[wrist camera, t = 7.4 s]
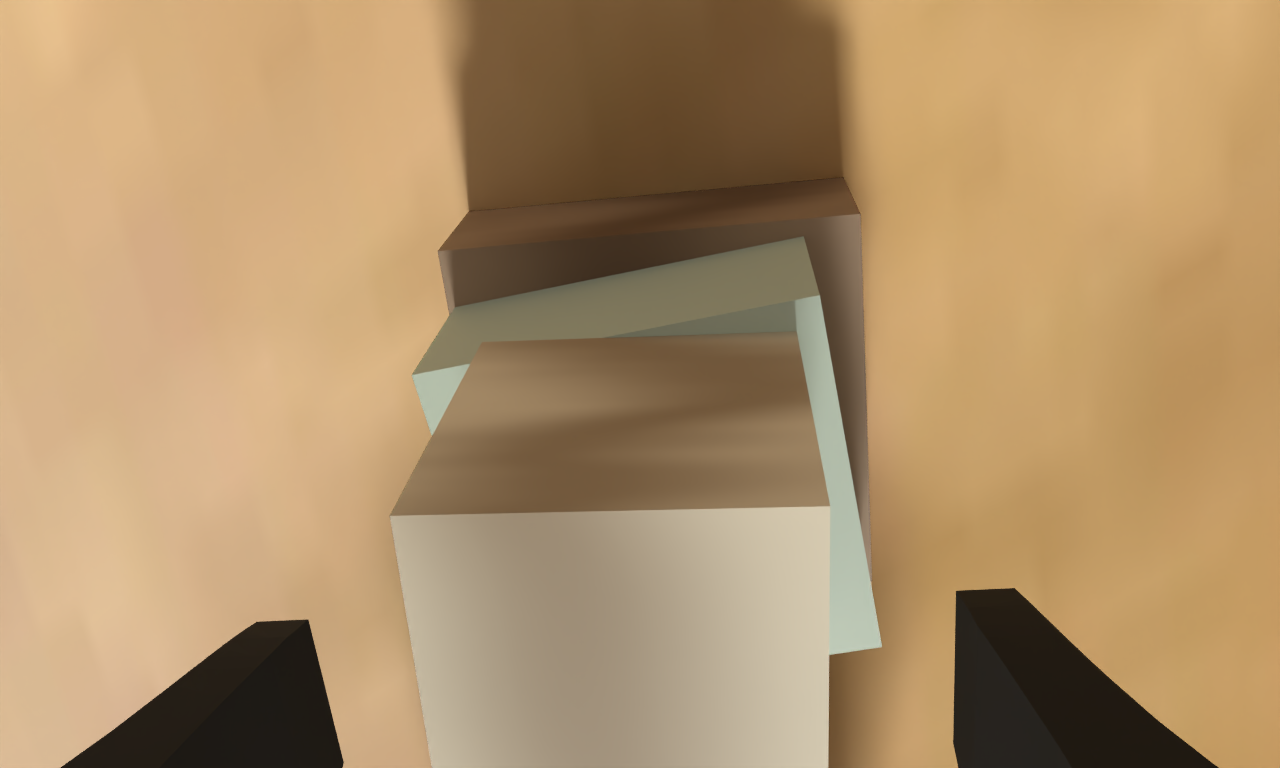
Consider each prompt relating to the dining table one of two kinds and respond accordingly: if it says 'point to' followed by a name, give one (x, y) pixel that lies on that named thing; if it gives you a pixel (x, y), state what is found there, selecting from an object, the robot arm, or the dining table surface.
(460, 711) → the maple block
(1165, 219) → the dining table surface
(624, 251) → the walnut base block
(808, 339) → the sage top block
